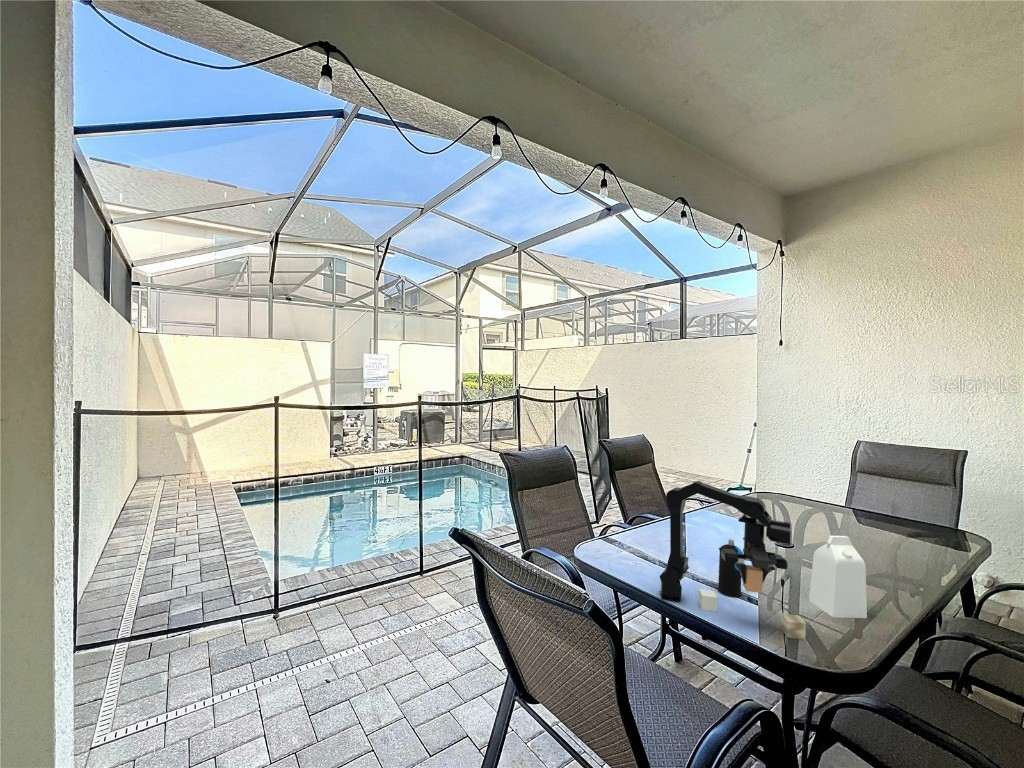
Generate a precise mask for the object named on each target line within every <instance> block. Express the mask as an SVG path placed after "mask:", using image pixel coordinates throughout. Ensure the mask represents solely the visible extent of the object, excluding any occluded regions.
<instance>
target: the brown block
mask: <svg viewBox="0 0 1024 768" xmlns="http://www.w3.org/2000/svg"><path fill="white" fill-rule="evenodd" d="M745 565H746V568H745V572H746V583H745V584H744V583H743V582H742V586H743V588H744V589H745V591H746V592H751V593H758V594H762V593H763V584H762V582H763V571H762V570H761V569H760V568H755V567H753V566H752V564H745ZM763 583H764V582H763Z"/></svg>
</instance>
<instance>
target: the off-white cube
mask: <svg viewBox="0 0 1024 768" xmlns="http://www.w3.org/2000/svg"><path fill="white" fill-rule="evenodd" d="M698 605H699V606H700V607H699V608H700V610H701V611H707V612H714V613H717V612H718V595H717V593H716V592H715V590H708V589H701V588H699V589H698Z"/></svg>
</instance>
